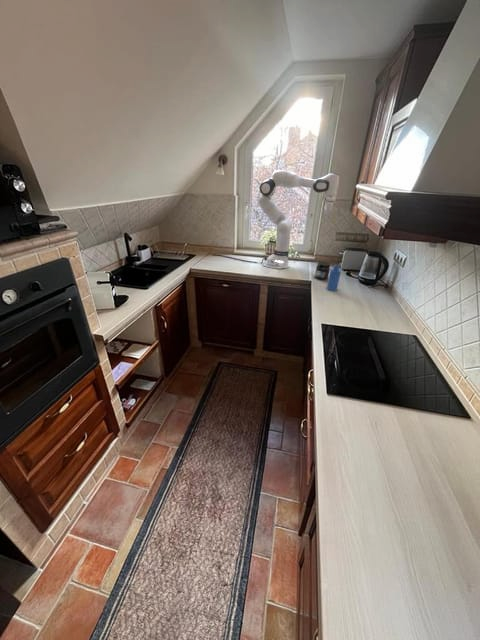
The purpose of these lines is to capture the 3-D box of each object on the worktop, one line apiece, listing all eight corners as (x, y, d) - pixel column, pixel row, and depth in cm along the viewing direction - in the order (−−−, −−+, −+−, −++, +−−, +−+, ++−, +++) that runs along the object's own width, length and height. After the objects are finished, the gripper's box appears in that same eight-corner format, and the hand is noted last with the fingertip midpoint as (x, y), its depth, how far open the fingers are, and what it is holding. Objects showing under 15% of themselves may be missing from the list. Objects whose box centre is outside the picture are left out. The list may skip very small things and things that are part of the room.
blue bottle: (326, 290, 182) (331, 265, 173) (326, 286, 187) (331, 263, 178) (336, 291, 180) (342, 267, 171) (336, 288, 186) (341, 264, 177)
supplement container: (327, 276, 206) (330, 262, 200) (328, 280, 198) (331, 266, 192) (314, 275, 208) (316, 260, 202) (314, 279, 200) (317, 264, 194)
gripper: (324, 196, 202) (321, 215, 208) (326, 198, 184) (322, 219, 191) (332, 197, 200) (329, 215, 207) (335, 199, 183) (331, 219, 190)
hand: (326, 217), depth 199 cm, fingers open, 8 cm apart
